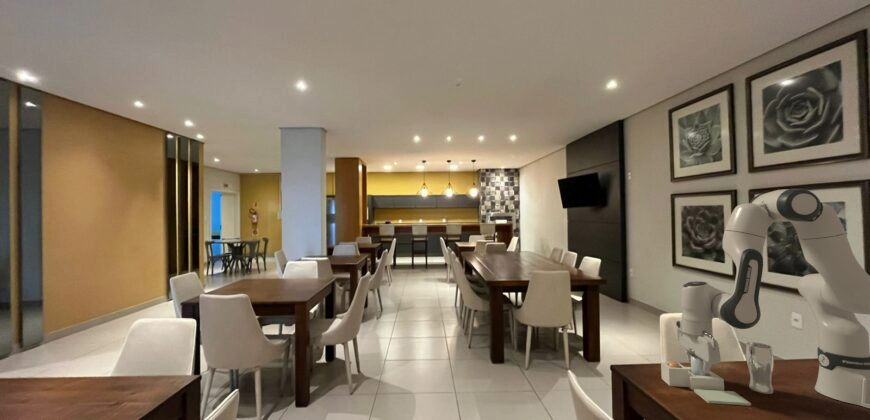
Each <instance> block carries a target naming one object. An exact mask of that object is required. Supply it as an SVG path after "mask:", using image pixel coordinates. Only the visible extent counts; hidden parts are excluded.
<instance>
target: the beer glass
mask: <svg viewBox="0 0 870 420" xmlns="http://www.w3.org/2000/svg"><path fill="white" fill-rule="evenodd" d="M745 359H746V364H747V368H748V371H749V376H750V377H749V379H750V380H749V385H748V386H749V389H750V390H752V391H754V392H757V393H760V394H765V395H772V394H773V393H774V388H773V385H772V376H773V370H774V351H773V347H772V346H771V345H769V344H765V343H761V342H755V341H747V342H746V343H745Z"/></svg>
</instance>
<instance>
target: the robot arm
mask: <svg viewBox="0 0 870 420" xmlns="http://www.w3.org/2000/svg"><path fill="white" fill-rule="evenodd" d="M787 222H788V223H789V222H790V223H791V224H792V225H793V227H794V228H795V231H796V235H797V239H798V241H799V243H800V247H801V250H802V254H803V257H804V259H805V260H806V263H808V264H809V265H811V266H812V267H813V268H814V269H815V270H816V271H817V272H818V273H810V274H809V273H808V274H806V275H804V276H802V277H801V278H800V279H799V280H798V283H797V290H798V293H799V294H800V295H801V296H802V297H803V298H804V299H805V301H806V302H807V304H808V305H809V307H810V310H811V312H812V315H813V317H814V319H815V322H816V327H817V328H816V329H817V336H818V347H817V361H818V364H819V365H818V374H817V379H816V383H815V386H814V390H815V391H816V392H818V393H819V394H821V395H823V396H826V397H828V398H831V399H834V400H836V401H837V400H838V401H840V402H844V403H849V404H852V405H856V406H861V407H863V408H867V409H870V336H869V335H870V334H869V331H868V329H867V328H866V327H865V326H864V325H863V324H862V323H861V322H860V321H859V319H858V318H857V317H856V315H855V314H858V315H859V314H860V315H870V274H868V273H867V271H866V270H865V269H864V268H863V267H862V265H861V264H860V263H859V261H858V260H857V258H856V256H855V254H854V252H853V250H852V247H851V245H850V241H849V239H848V236H847V234H846V230H845V228H844V225H843V223H842V221H841V219H840V217H839V216H838V214H837V212H836V211H835V210H834V208H833V207H832V206H831V205H829V204H828V203H827V204H826V203H823V202H821V200H820V199H819V197H818V196H817V195H816V194H815V193H814V192H812V191H810V190H808V189H804V188H790V189H789V188H787V189H777V190H773V191H770V192H769V191H768V192H762V193H760V194H758V195H756V196H754V197H753V198H752V199H751V200H750V201H749V202H748V203H746V202H745V203H741V204H738V205H736V206H735V208H734V209H733V210H732V213H731V214H730V216H729V219H728V220H727V223H726V226H725V229H724V232H723V236H722V245H721V246H722V250H723V251H724V253H725V254H726V255H727V256H728V257H729V258H730V259H731V260H732V261H733V263H734V265H735V267H736V268H735V269H736V274H735V279H734V286H733V291H732V293H730V292H727V291H723V290H721V289H718V288H716V287H714V286H712V285H710V284H709V283H707V282H706V281H697V280H696V281H689V282H687V283H684V284H683V285H682V288H681V290H680V291H681V293H680V306H681V309H682V314H681V319H679V320H677V319H676V320H675V326H676V337H677V342H678V345H679V346H680V347H682V348H684V351H685V355H686V358H687V362H688V363H690V364H691V355H690V354H689V348H691V349H692V350H694V351H695V355H696V356H698V357H699V358H701V359H703V363H704V366H702V371H703V372H704V373H710V371H711V368H712V366H713V365H720V363H721V362H722V361H721V351H720V345H719V342H718V341H717V340H716V339H715V337H714V333H713V330H714V329H713V319H719V320H721V321H723V322H725V323H726V324H728V325H729V326H731V327H732V328H735V329H737V330H738V329H740V330H747V329H751V328H753V327H754V326H756V325H757V324H758V323H759V322H760V319H761V315H762V313H761V308H760V301H759V299H760V298H759V296H760V290H761V285H762V278H763V271H764V270H763V269H764V257H763V256H764V253H763V252H764V247H765V243H766V238H767V234H768V229H769V228H770V226H771V225H772V224H773V223H787Z"/></svg>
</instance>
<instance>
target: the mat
mask: <svg viewBox="0 0 870 420" xmlns="http://www.w3.org/2000/svg"><path fill="white" fill-rule="evenodd" d="M693 392H694V393H695V394H697V395H698V396H699V397H700V398H702V400H704V401H705V402H706V403H707V404H717V405H733V406H734V405H735V406H748V407H749V406H752V403H751V402H750V401H748V400H747V399H745V398H744V397H743V396H741V395H740V394H739V393H737V392H735V391H730V390H724V391H718V390H700V389H694V390H693Z"/></svg>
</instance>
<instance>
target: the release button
mask: <svg viewBox="0 0 870 420" xmlns="http://www.w3.org/2000/svg"><path fill="white" fill-rule="evenodd" d="M668 362H669V367H671V368H679V362H675V361H668Z"/></svg>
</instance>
